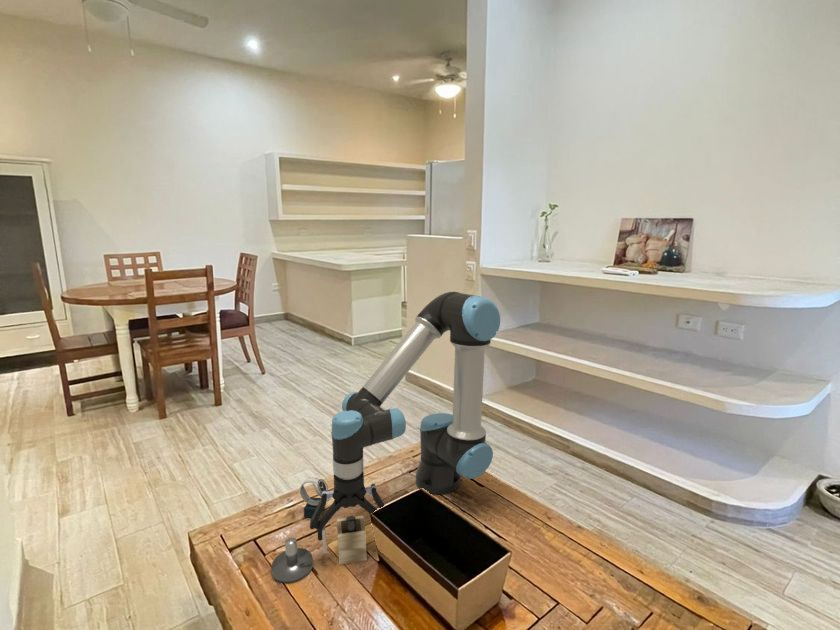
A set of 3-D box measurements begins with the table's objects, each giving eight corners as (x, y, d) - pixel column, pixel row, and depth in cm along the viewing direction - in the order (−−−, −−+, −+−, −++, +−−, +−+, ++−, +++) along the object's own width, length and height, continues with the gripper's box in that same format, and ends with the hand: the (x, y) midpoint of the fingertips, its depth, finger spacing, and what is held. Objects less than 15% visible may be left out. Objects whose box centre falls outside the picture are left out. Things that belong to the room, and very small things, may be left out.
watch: (324, 519, 129) (322, 485, 127) (298, 517, 130) (296, 483, 128) (331, 507, 134) (329, 475, 132) (306, 505, 136) (303, 473, 133)
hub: (313, 550, 117) (312, 525, 115) (312, 579, 107) (310, 552, 106) (274, 556, 115) (272, 530, 113) (269, 586, 105) (267, 559, 104)
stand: (358, 546, 118) (357, 513, 116) (359, 556, 115) (358, 522, 113) (345, 548, 117) (343, 515, 115) (345, 558, 114) (343, 524, 112)
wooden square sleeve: (364, 541, 120) (363, 515, 118) (366, 560, 113) (365, 533, 112) (338, 545, 119) (337, 519, 117) (339, 564, 112) (337, 537, 110)
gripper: (395, 459, 117) (396, 529, 121) (298, 469, 112) (302, 542, 117) (399, 474, 110) (400, 548, 114) (296, 486, 105) (301, 563, 109)
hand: (351, 545), depth 115 cm, fingers open, 13 cm apart
